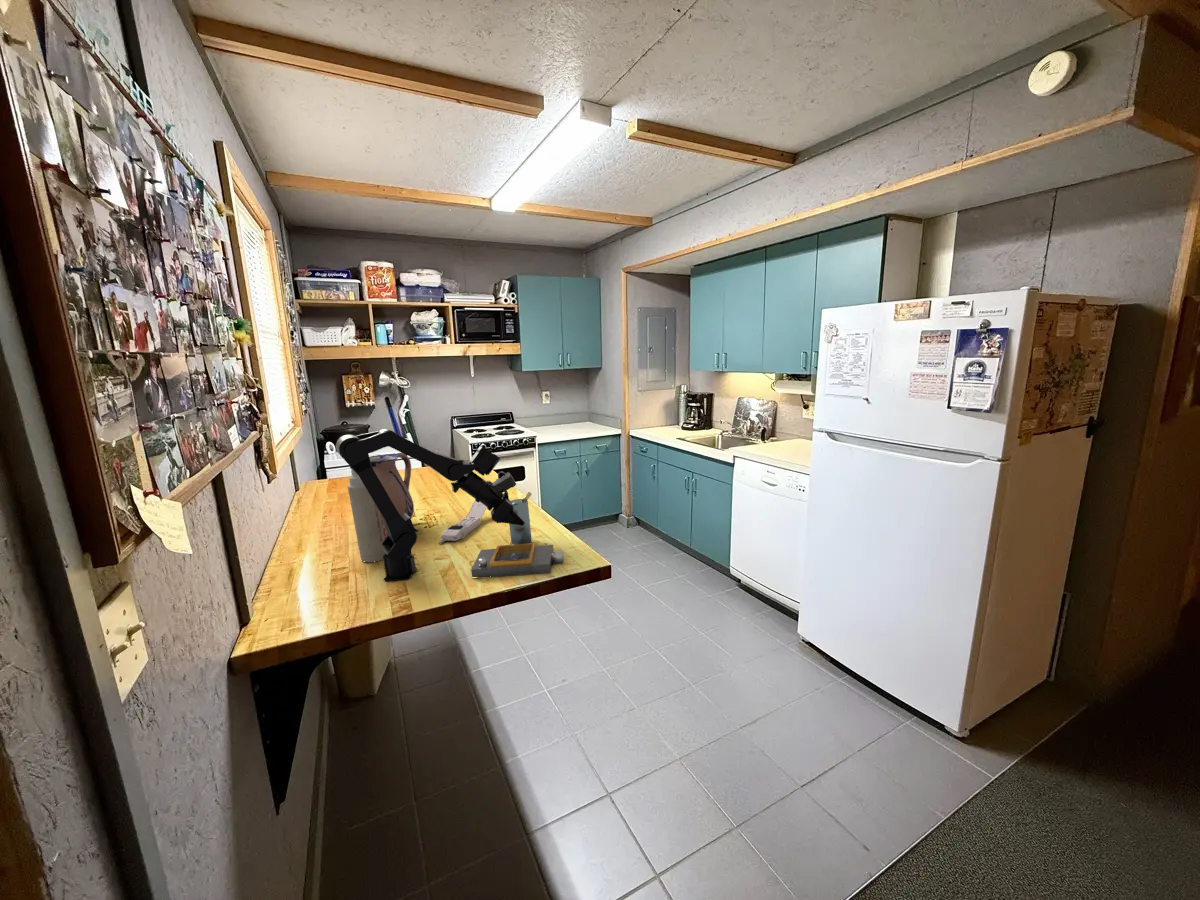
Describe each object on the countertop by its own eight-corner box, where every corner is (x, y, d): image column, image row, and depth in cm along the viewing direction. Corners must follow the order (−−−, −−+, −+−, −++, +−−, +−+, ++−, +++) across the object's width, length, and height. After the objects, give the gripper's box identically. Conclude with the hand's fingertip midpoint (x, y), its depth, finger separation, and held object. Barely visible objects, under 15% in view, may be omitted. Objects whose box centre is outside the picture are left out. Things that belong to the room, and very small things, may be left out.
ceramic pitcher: (346, 540, 152) (332, 464, 146) (392, 516, 171) (381, 449, 166) (392, 543, 146) (378, 465, 141) (434, 519, 166) (423, 449, 161)
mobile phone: (490, 500, 165) (451, 527, 141) (492, 516, 166) (454, 545, 142) (474, 500, 166) (433, 526, 142) (476, 516, 167) (436, 545, 144)
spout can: (512, 549, 137) (507, 498, 133) (510, 541, 142) (504, 492, 139) (538, 545, 139) (533, 494, 135) (535, 537, 144) (530, 488, 141)
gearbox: (472, 578, 120) (470, 564, 120) (482, 558, 132) (480, 544, 131) (562, 572, 121) (561, 557, 120) (564, 552, 133) (563, 538, 132)
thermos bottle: (396, 551, 140) (381, 460, 134) (379, 563, 133) (362, 467, 127) (373, 550, 142) (357, 460, 136) (354, 562, 134) (336, 467, 128)
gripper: (499, 474, 125) (544, 507, 130) (494, 459, 142) (534, 488, 148) (472, 507, 125) (519, 538, 130) (470, 488, 142) (511, 516, 147)
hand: (521, 518), depth 139 cm, fingers open, 9 cm apart
